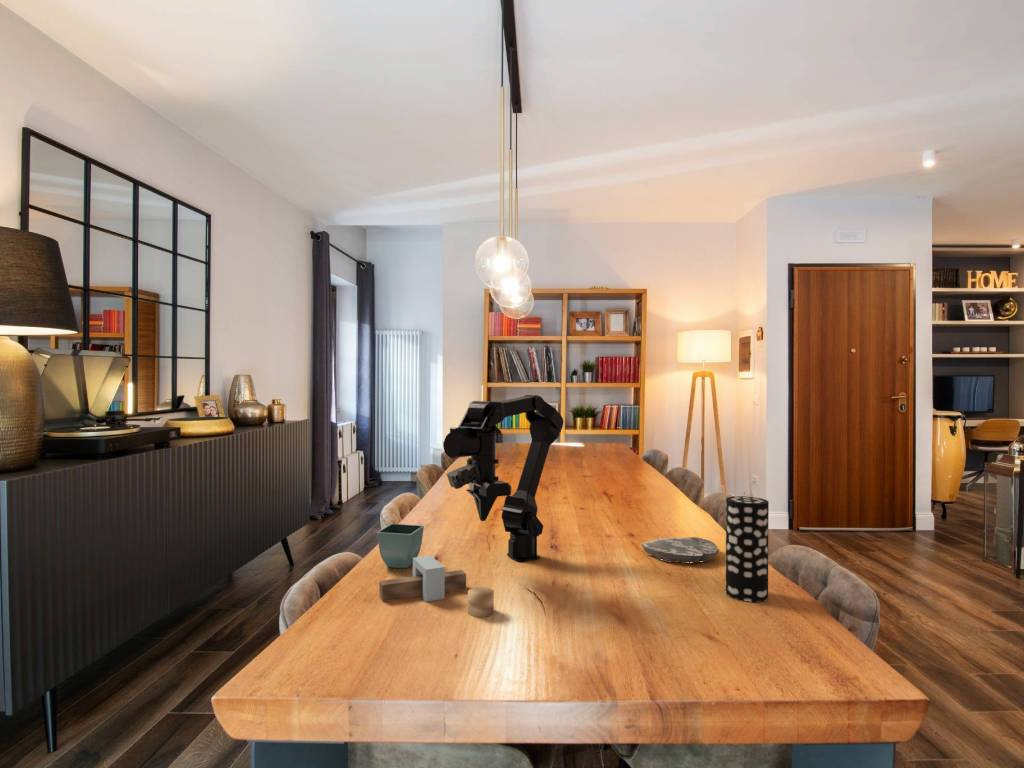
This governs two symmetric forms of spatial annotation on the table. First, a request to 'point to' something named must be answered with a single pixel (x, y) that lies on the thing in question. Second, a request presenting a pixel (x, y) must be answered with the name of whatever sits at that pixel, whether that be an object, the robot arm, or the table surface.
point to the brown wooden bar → (418, 585)
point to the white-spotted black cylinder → (747, 548)
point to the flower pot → (400, 544)
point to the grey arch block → (430, 577)
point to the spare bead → (480, 602)
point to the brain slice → (681, 549)
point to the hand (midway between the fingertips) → (482, 520)
